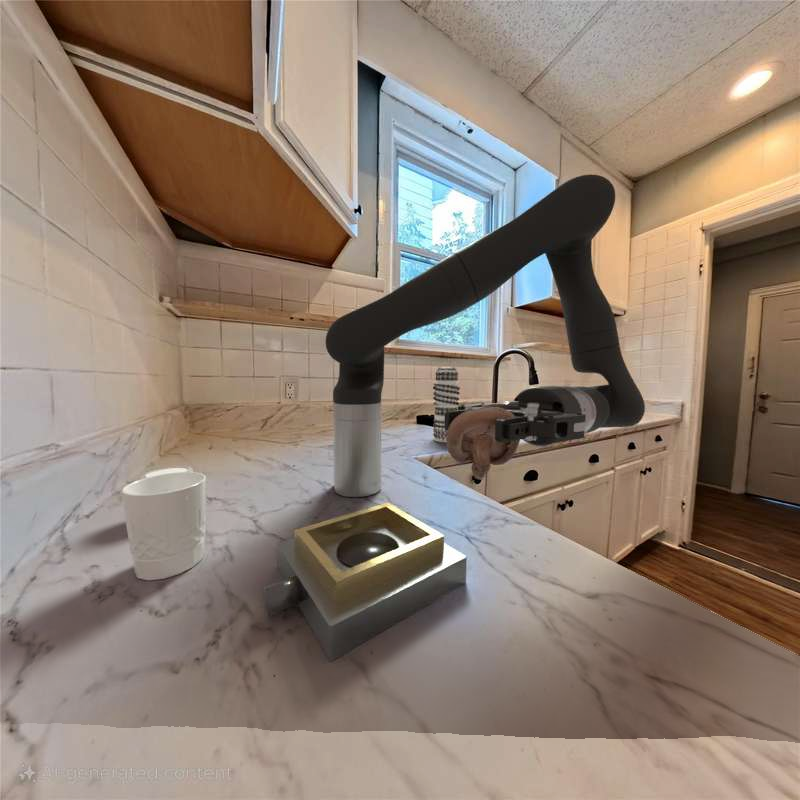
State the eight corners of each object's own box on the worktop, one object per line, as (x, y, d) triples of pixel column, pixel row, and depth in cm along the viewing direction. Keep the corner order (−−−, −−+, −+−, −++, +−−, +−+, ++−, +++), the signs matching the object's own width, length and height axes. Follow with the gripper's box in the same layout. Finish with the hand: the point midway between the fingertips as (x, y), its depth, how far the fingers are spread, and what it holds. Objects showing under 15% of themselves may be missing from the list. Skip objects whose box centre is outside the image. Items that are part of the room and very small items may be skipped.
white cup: (164, 544, 42) (160, 471, 41) (222, 545, 41) (219, 472, 41) (108, 584, 34) (101, 494, 33) (179, 586, 34) (173, 496, 33)
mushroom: (439, 483, 33) (437, 408, 33) (458, 467, 39) (456, 403, 38) (514, 493, 29) (512, 409, 29) (524, 474, 35) (523, 403, 34)
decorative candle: (426, 439, 108) (427, 366, 105) (441, 435, 115) (442, 367, 112) (449, 443, 102) (451, 366, 100) (463, 439, 109) (465, 367, 106)
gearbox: (245, 568, 37) (244, 527, 36) (381, 522, 48) (381, 491, 48) (292, 684, 23) (290, 621, 23) (465, 582, 34) (467, 539, 34)
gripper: (507, 383, 47) (424, 386, 37) (617, 388, 36) (539, 394, 26) (505, 432, 48) (423, 448, 38) (612, 452, 37) (535, 482, 26)
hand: (470, 426), depth 32 cm, fingers closed on mushroom, 6 cm apart
